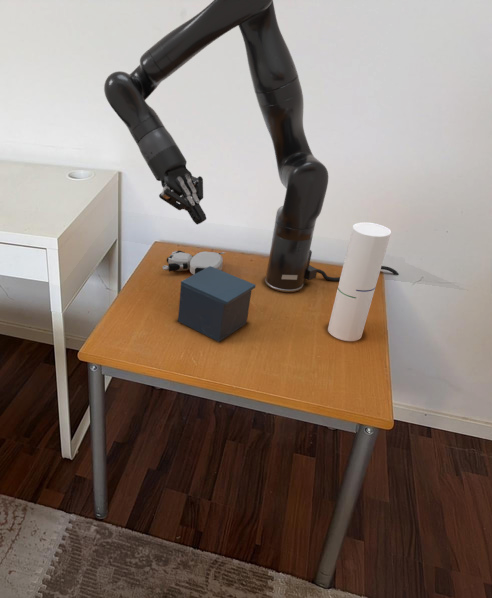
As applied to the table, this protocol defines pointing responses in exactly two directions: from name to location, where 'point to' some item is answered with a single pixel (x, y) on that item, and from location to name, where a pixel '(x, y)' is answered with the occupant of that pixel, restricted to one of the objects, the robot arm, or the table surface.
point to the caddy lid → (218, 285)
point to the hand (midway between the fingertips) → (201, 221)
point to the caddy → (212, 313)
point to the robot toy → (193, 261)
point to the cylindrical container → (358, 280)
